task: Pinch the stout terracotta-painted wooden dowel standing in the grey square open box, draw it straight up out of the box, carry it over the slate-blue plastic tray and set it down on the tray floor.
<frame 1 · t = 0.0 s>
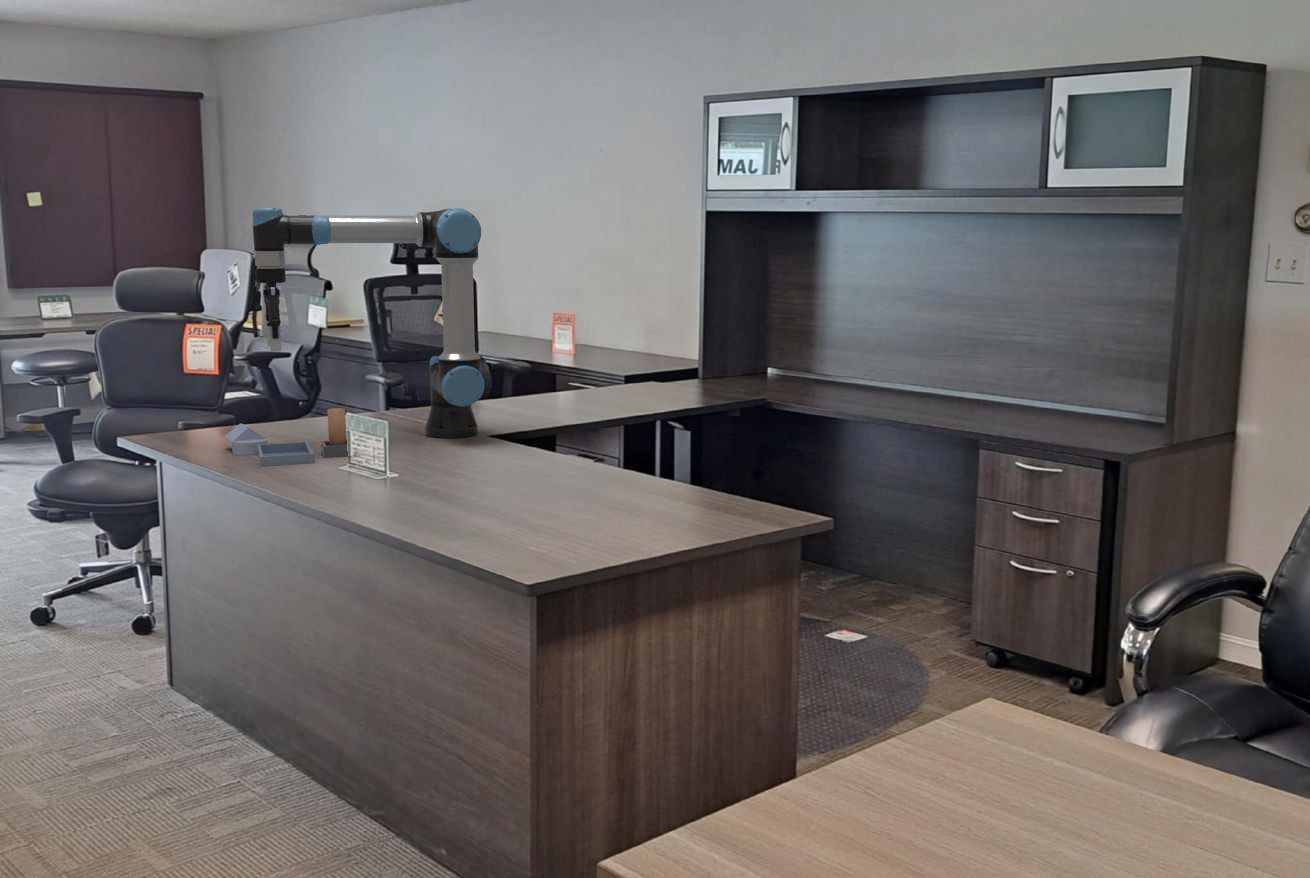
hand: (274, 348, 323), 28 cm above the table, fingers open, 13 cm apart
grey square open box: (338, 456, 323), on the table
tray: (285, 460, 318), on the table
dowel: (338, 454, 323), point 1 cm above the table, touching grey square open box
wedge on round base: (248, 451, 330), on the table
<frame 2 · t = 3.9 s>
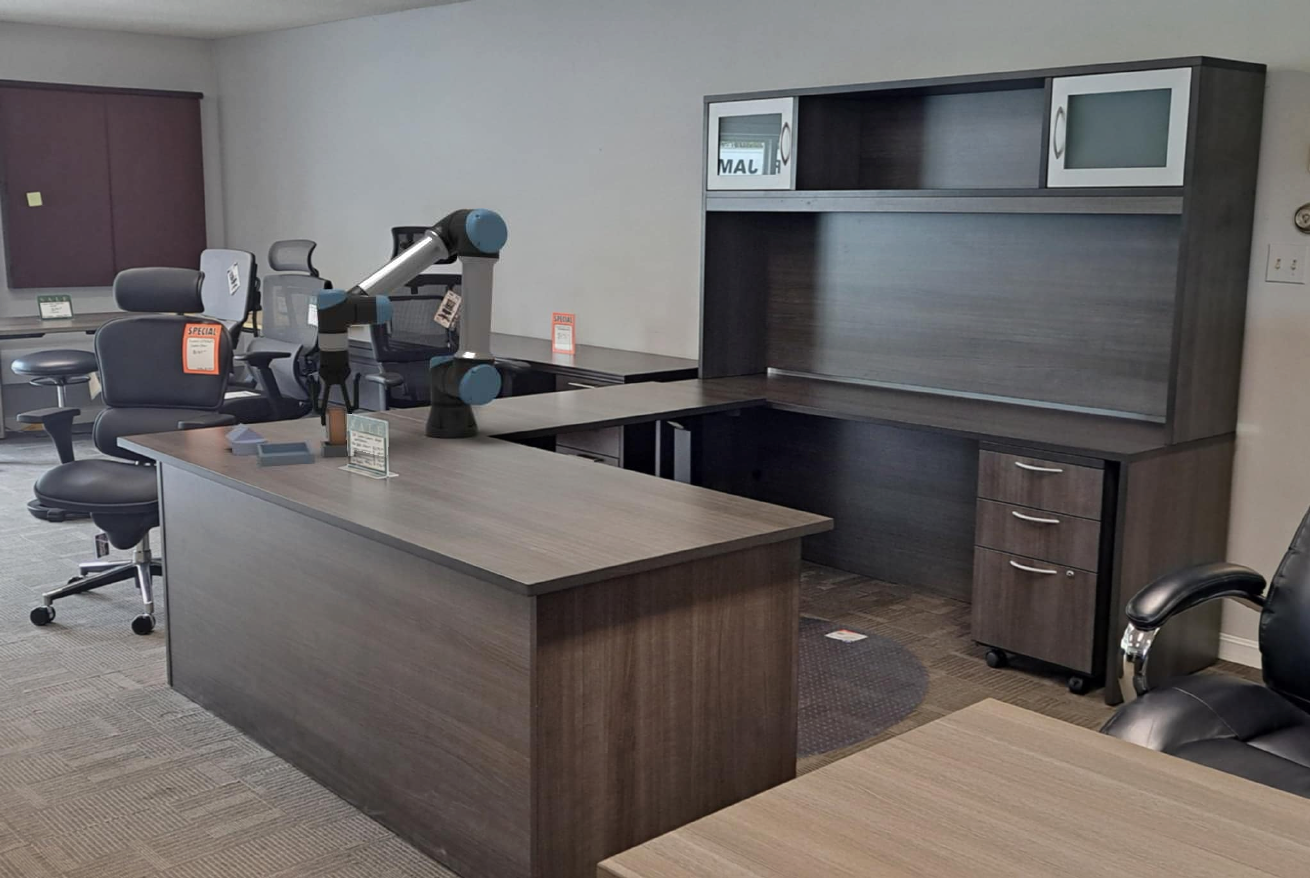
hand: (337, 437, 322), 5 cm above the table, fingers closed on dowel, 4 cm apart
dowel: (338, 453, 323), point 1 cm above the table, touching gripper
everything else where it was.
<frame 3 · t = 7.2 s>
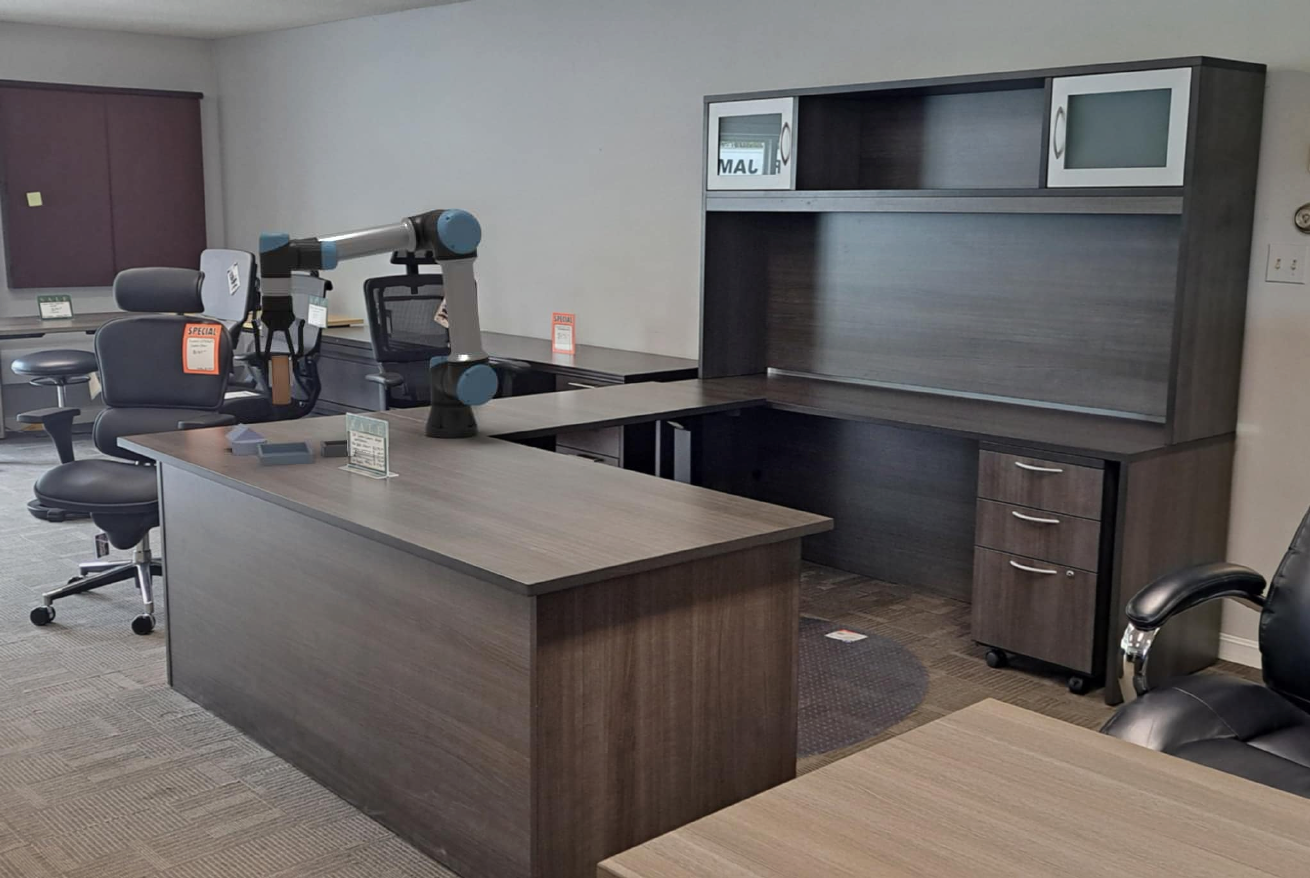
hand: (281, 385, 314), 20 cm above the table, fingers closed on dowel, 4 cm apart
dowel: (282, 403, 315), point 15 cm above the table, touching gripper
everything else where it was.
when the fingers open (5 cm above the table, at t = 10.5 s): dowel stays where it is, resting on tray.
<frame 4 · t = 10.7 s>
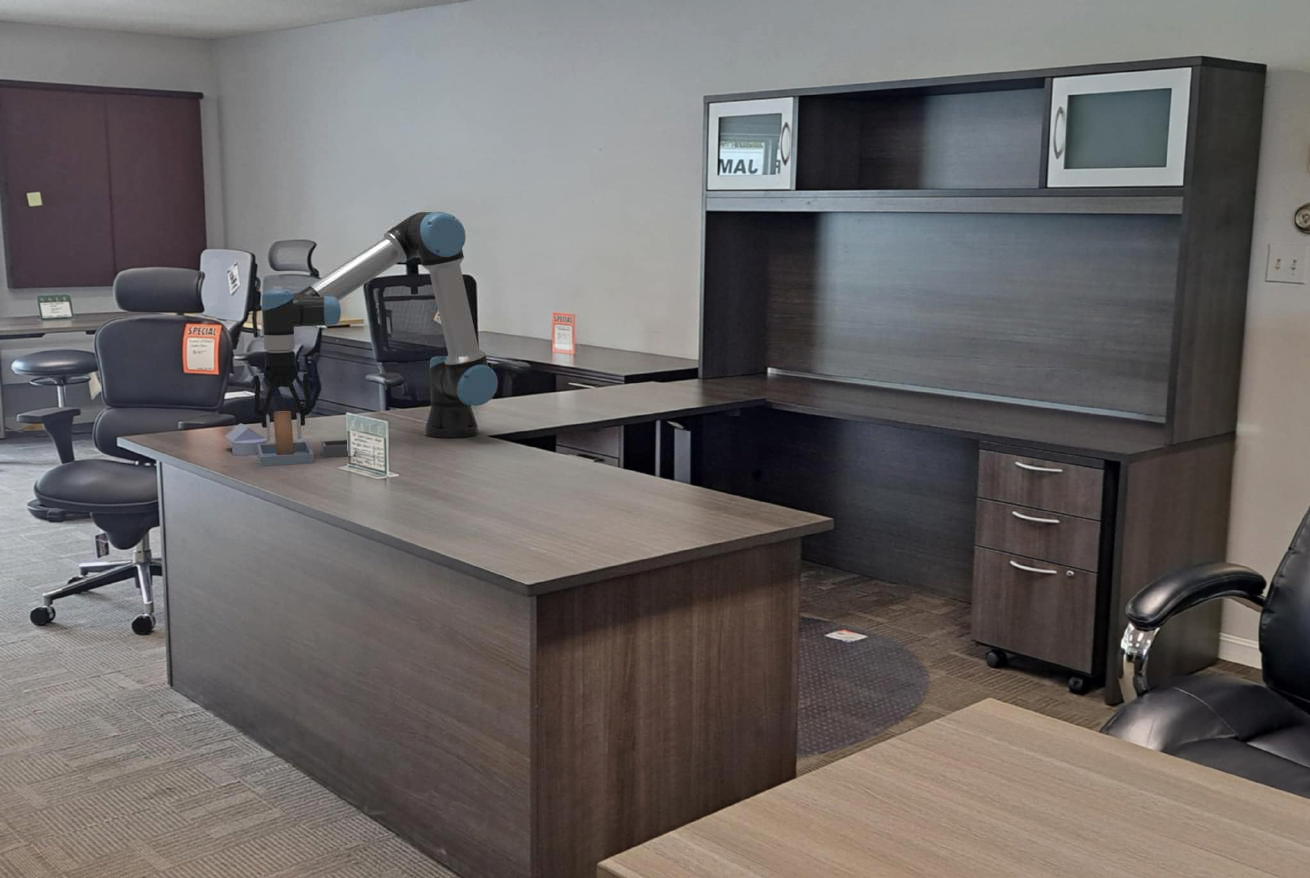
hand: (284, 439, 316), 6 cm above the table, fingers open, 7 cm apart
dowel: (285, 457, 317), point 1 cm above the table, touching tray
everything else where it was.
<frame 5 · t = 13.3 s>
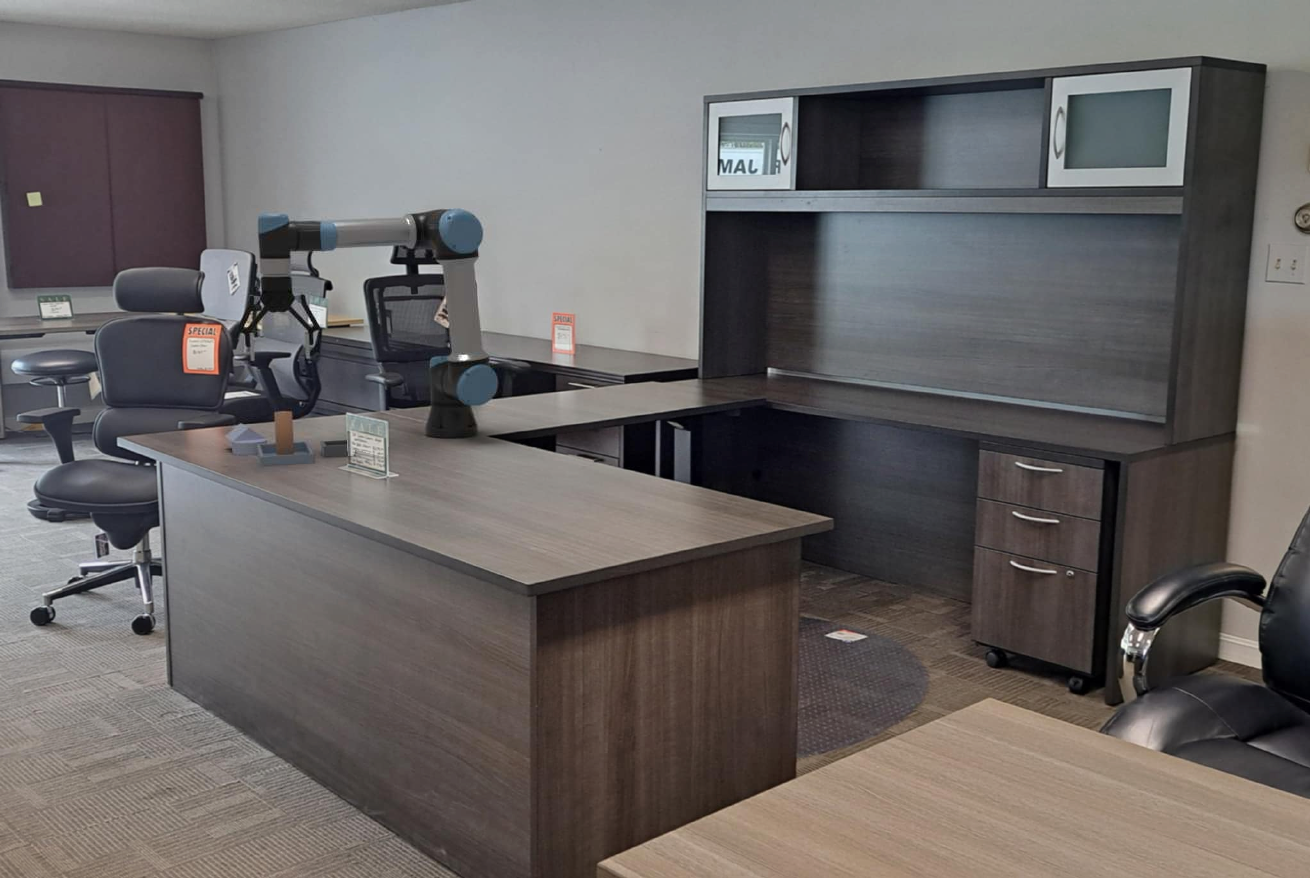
hand: (280, 359, 313), 26 cm above the table, fingers open, 13 cm apart
nothing on the table moved.
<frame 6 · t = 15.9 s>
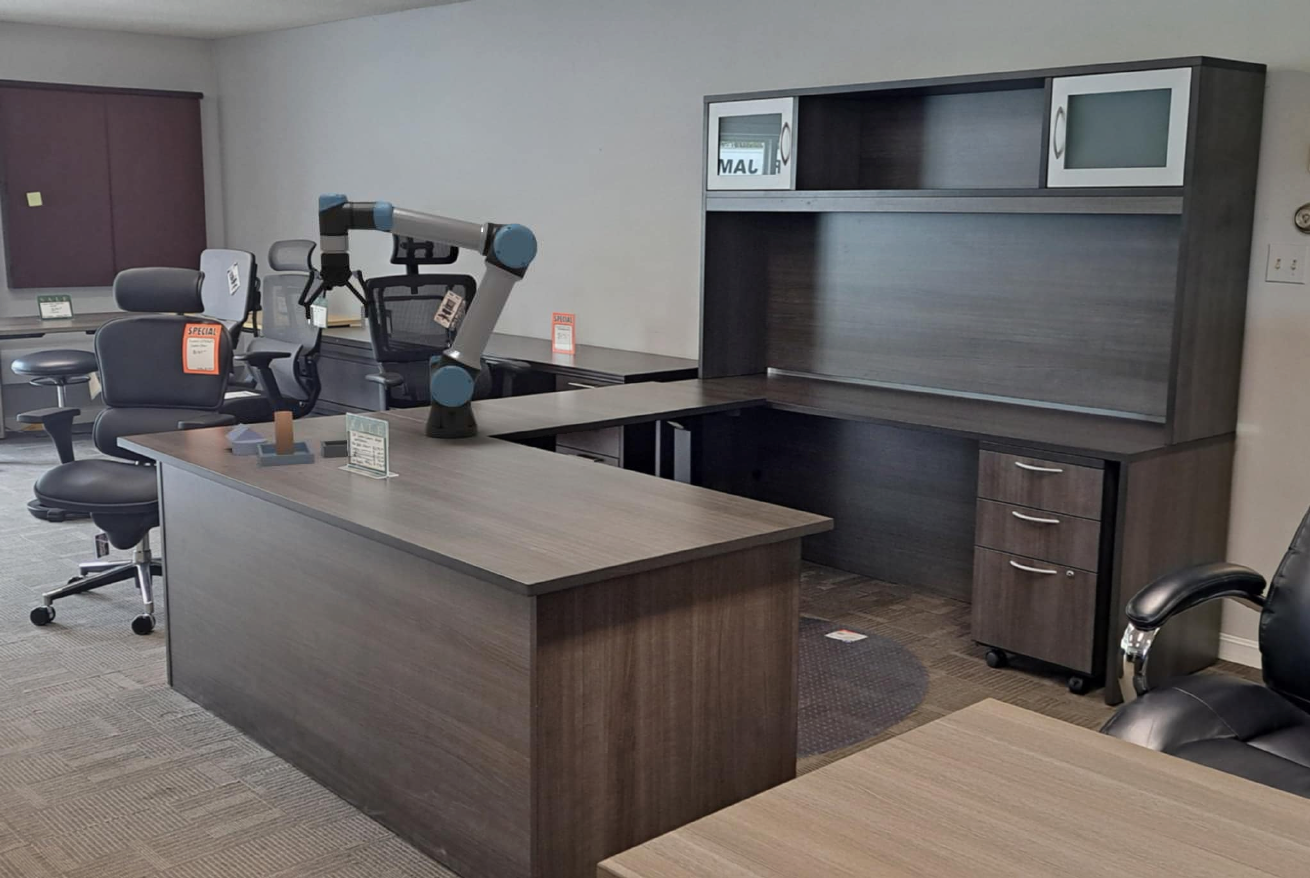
hand: (338, 331, 333), 32 cm above the table, fingers open, 13 cm apart
nothing on the table moved.
at the end: dowel inside the target area on the tray (0.1 cm from its centre), point 0.6 cm above the tray's base; the gripper is holding nothing; dowel touching tray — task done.
